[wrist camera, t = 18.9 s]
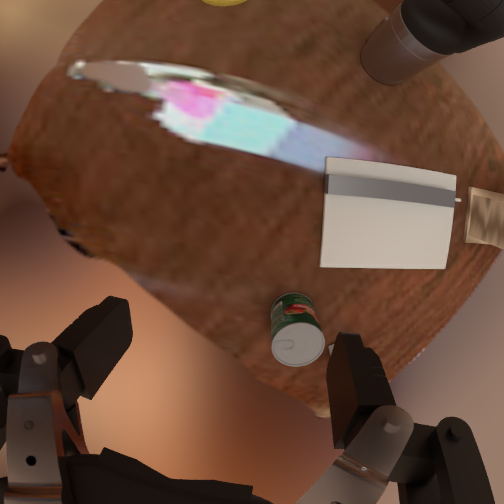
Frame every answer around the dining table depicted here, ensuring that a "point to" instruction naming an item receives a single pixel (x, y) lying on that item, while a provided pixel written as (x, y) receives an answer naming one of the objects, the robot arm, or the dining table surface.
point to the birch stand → (484, 218)
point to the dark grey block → (388, 190)
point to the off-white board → (385, 221)
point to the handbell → (223, 2)
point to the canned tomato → (295, 330)
